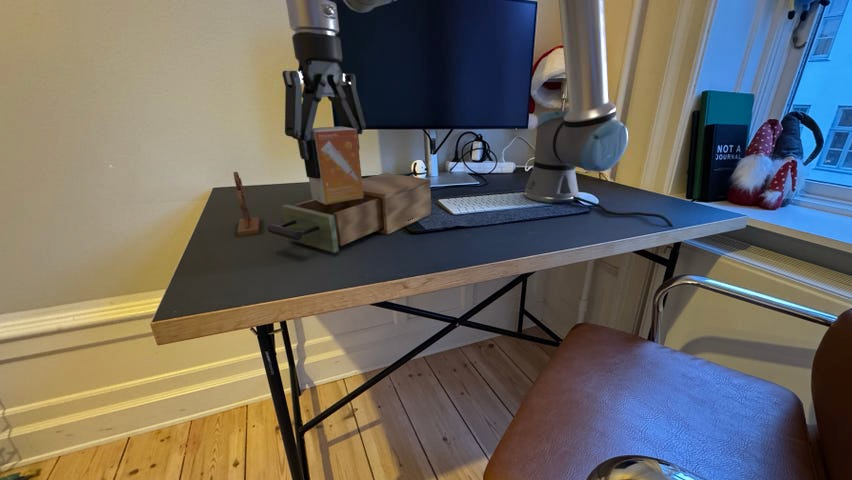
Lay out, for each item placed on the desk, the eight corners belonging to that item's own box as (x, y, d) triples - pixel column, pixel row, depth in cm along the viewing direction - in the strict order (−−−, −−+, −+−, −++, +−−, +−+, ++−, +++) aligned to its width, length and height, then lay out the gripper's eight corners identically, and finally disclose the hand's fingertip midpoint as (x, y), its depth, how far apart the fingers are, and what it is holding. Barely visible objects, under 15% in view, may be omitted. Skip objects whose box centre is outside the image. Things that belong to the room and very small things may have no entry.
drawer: (309, 263, 62) (302, 225, 59) (263, 248, 67) (254, 213, 64) (389, 228, 79) (387, 196, 76) (346, 218, 84) (343, 188, 81)
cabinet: (387, 234, 78) (384, 194, 74) (340, 223, 83) (335, 185, 80) (431, 214, 91) (430, 179, 87) (388, 205, 96) (385, 172, 93)
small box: (326, 206, 68) (314, 131, 62) (311, 198, 72) (299, 128, 66) (365, 198, 73) (357, 128, 67) (349, 191, 77) (340, 125, 71)
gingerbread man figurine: (259, 233, 77) (245, 175, 71) (237, 236, 75) (221, 177, 70) (259, 220, 84) (246, 167, 79) (240, 222, 82) (225, 168, 77)
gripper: (270, 22, 50) (300, 187, 60) (378, 41, 67) (387, 166, 77) (237, 25, 53) (270, 181, 63) (348, 42, 70) (360, 162, 80)
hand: (334, 172), depth 70 cm, fingers closed on small box, 9 cm apart
